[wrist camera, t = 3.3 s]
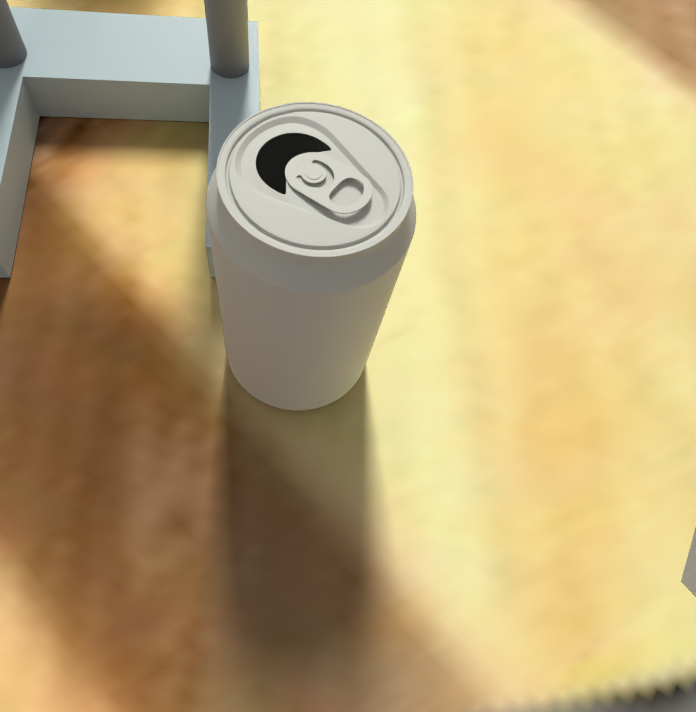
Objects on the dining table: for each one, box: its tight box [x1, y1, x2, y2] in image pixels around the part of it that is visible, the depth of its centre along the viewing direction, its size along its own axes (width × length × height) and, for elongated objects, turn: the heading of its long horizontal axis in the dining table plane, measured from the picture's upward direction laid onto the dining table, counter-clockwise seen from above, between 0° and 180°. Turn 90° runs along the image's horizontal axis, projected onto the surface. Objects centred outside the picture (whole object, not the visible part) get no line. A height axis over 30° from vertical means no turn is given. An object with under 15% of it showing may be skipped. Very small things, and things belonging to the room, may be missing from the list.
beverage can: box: [206, 102, 416, 411], centre depth 22 cm, size 6×6×12 cm
